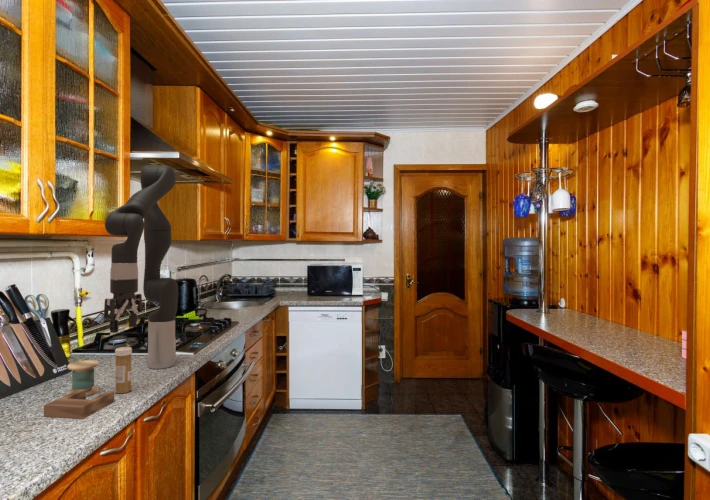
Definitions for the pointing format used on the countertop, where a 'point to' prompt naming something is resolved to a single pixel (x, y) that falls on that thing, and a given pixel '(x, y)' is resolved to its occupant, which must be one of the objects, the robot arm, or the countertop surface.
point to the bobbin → (83, 376)
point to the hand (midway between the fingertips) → (123, 329)
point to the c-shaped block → (77, 405)
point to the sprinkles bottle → (123, 369)
